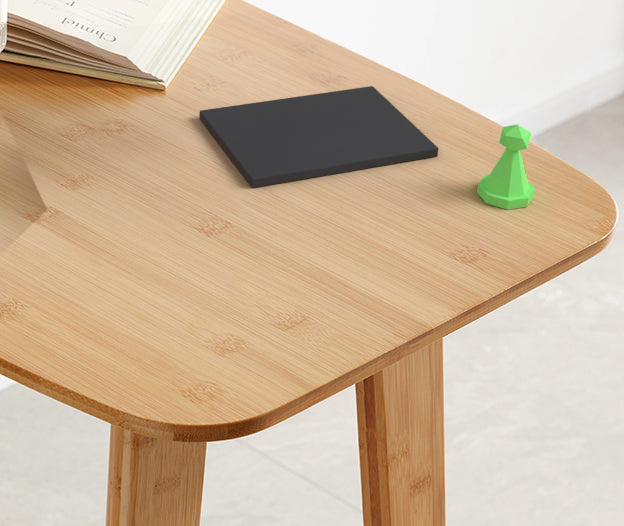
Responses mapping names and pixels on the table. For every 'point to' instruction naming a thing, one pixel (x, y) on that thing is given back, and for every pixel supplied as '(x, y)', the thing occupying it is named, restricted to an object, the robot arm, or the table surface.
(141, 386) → the table surface
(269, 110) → the back mat
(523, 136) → the game piece
